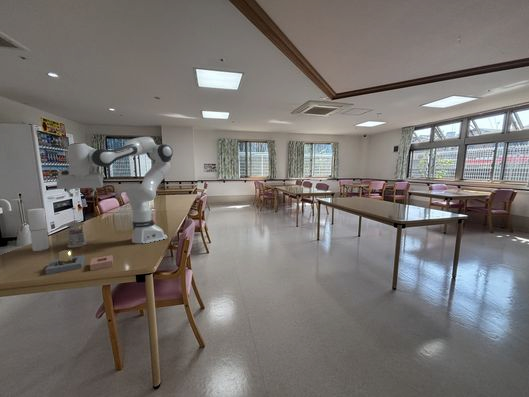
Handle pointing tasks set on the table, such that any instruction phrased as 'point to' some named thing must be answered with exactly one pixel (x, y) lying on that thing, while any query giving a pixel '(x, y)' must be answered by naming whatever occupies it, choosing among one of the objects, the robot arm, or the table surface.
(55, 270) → the socket block
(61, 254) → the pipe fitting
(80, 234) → the french press
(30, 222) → the cylindrical container
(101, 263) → the small socket
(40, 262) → the table surface
